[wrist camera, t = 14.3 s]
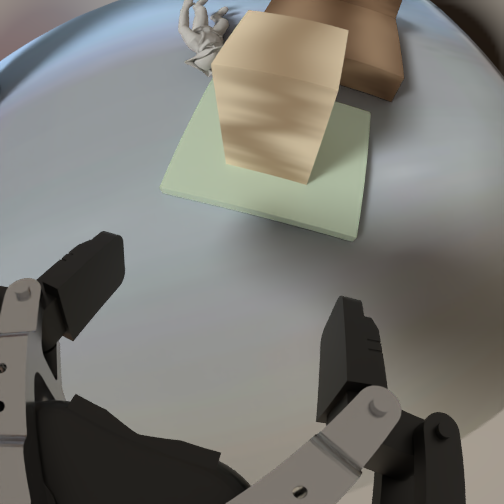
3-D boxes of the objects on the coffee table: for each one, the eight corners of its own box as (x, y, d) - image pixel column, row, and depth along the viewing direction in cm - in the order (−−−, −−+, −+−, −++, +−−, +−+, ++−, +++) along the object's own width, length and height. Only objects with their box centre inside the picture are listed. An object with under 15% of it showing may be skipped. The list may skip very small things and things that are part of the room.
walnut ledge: (249, 64, 21) (248, 12, 16) (280, 5, 24) (283, -34, 19) (391, 101, 20) (415, 55, 15) (386, 32, 23) (400, -5, 18)
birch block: (226, 163, 18) (211, 64, 10) (249, 106, 19) (248, 10, 11) (306, 184, 17) (338, 90, 10) (321, 123, 19) (348, 30, 11)
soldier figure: (250, 23, 25) (283, 55, 18) (221, 54, 27) (239, 99, 21) (191, -15, 20) (196, -5, 13) (162, 20, 22) (152, 49, 16)
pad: (162, 193, 18) (159, 187, 17) (214, 83, 21) (213, 76, 20) (352, 241, 17) (356, 237, 17) (367, 118, 20) (370, 112, 19)
